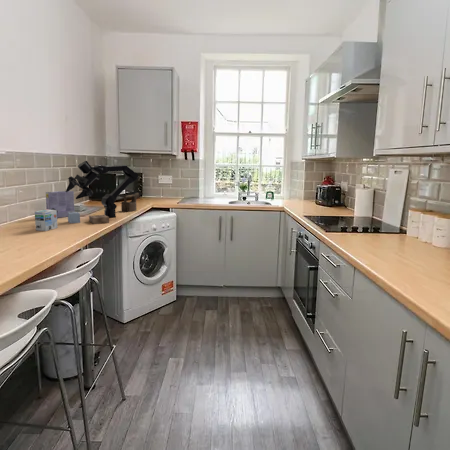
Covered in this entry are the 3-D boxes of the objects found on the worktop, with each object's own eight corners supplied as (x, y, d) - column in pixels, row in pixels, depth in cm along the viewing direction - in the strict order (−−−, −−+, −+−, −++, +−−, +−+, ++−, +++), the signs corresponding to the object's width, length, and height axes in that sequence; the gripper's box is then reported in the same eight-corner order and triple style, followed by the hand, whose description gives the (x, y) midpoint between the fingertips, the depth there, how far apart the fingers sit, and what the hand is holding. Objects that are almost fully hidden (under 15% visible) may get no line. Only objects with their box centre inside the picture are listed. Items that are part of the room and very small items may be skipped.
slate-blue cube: (78, 221, 236) (77, 212, 235) (80, 222, 231) (79, 213, 230) (68, 221, 233) (67, 212, 232) (70, 223, 228) (69, 214, 227)
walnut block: (104, 220, 241) (104, 214, 241) (109, 223, 233) (109, 217, 233) (89, 221, 236) (88, 215, 235) (93, 224, 228) (92, 218, 227)
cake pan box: (72, 215, 259) (71, 190, 256) (76, 215, 256) (75, 190, 253) (46, 218, 243) (44, 191, 240) (50, 219, 241) (48, 192, 237)
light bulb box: (45, 231, 203) (44, 212, 201) (35, 230, 204) (33, 211, 202) (58, 227, 213) (57, 209, 211) (48, 227, 215) (46, 209, 213)
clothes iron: (142, 209, 292) (142, 192, 290) (128, 212, 278) (128, 194, 276) (134, 208, 296) (134, 192, 293) (120, 211, 282) (120, 193, 279)
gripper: (74, 164, 235) (55, 180, 229) (95, 178, 230) (76, 195, 224) (80, 175, 245) (62, 191, 239) (100, 188, 240) (82, 204, 233)
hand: (70, 195), depth 233 cm, fingers open, 9 cm apart
